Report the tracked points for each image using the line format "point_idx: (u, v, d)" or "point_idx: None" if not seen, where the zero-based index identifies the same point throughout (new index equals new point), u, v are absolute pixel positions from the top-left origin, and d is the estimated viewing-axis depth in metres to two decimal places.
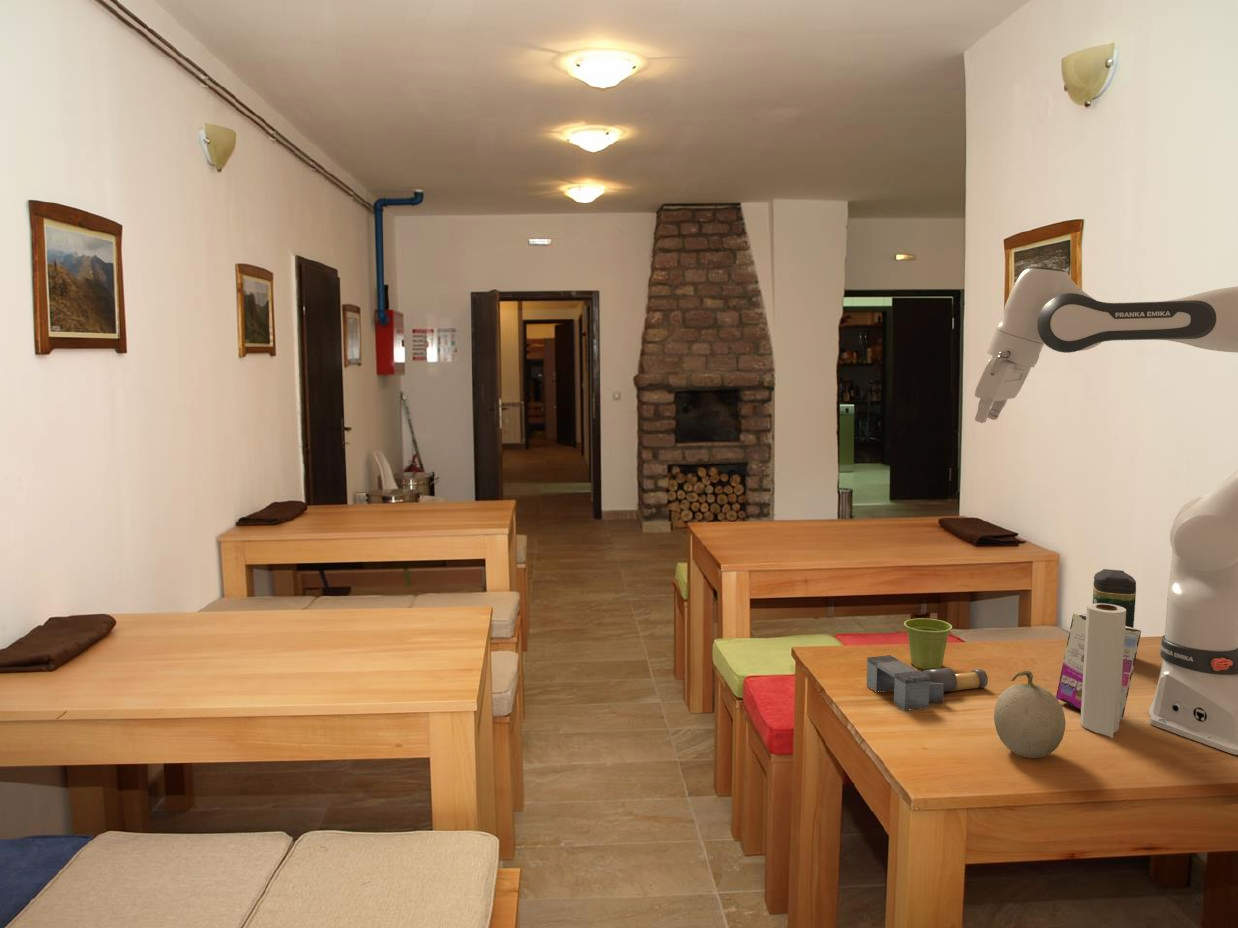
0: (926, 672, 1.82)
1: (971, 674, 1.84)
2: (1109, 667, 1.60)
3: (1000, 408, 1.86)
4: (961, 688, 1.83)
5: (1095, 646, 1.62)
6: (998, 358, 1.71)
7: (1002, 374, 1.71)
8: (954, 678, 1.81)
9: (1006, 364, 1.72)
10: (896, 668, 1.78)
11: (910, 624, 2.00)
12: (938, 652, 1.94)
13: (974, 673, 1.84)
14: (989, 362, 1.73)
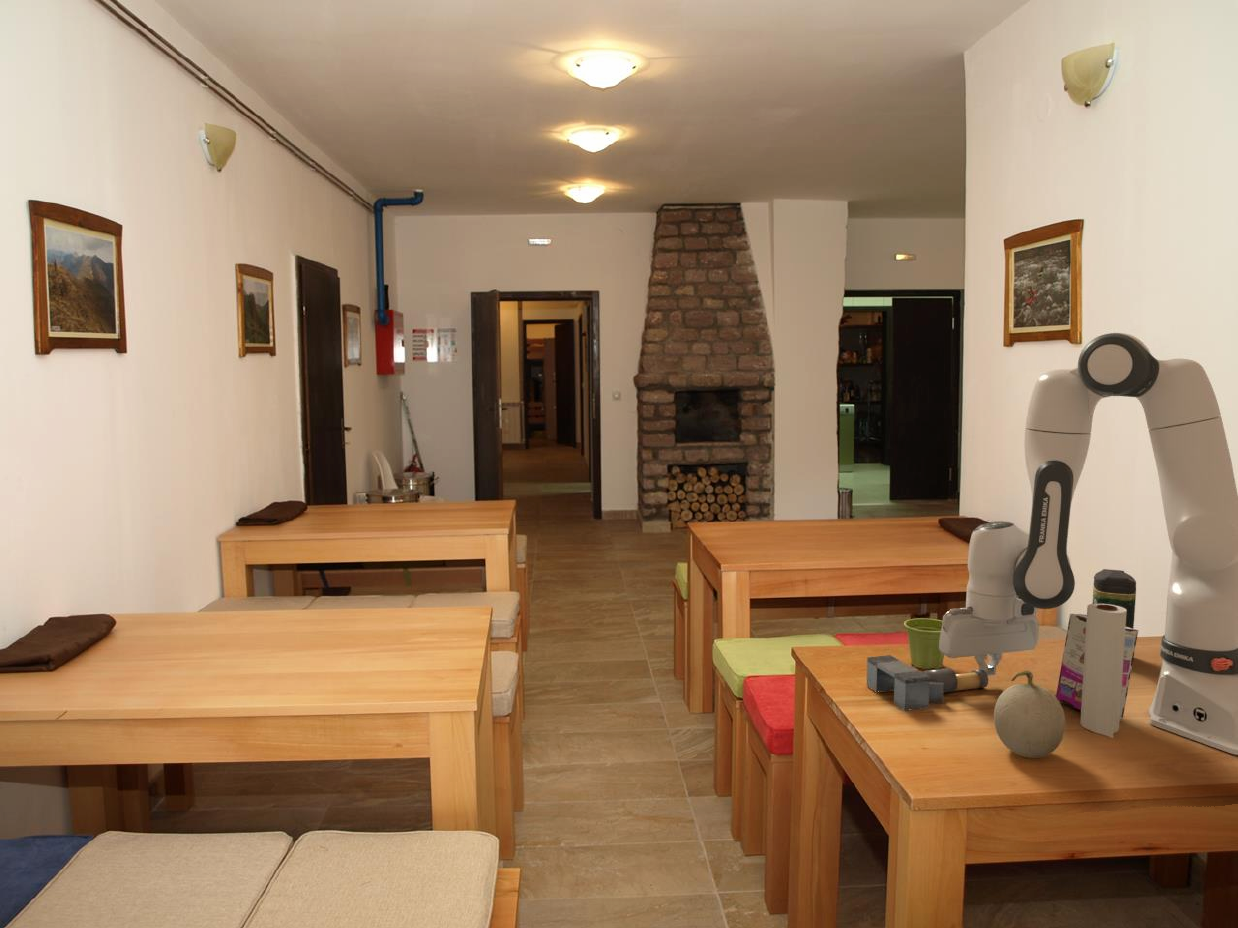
0: (927, 673, 1.81)
1: (972, 675, 1.83)
2: (1110, 667, 1.60)
3: (994, 663, 1.85)
4: (961, 689, 1.83)
5: (1095, 646, 1.62)
6: (944, 616, 1.81)
7: (952, 630, 1.80)
8: (955, 680, 1.81)
9: (956, 620, 1.80)
10: (896, 668, 1.78)
11: (910, 624, 2.00)
12: (938, 652, 1.94)
13: (975, 674, 1.84)
14: None
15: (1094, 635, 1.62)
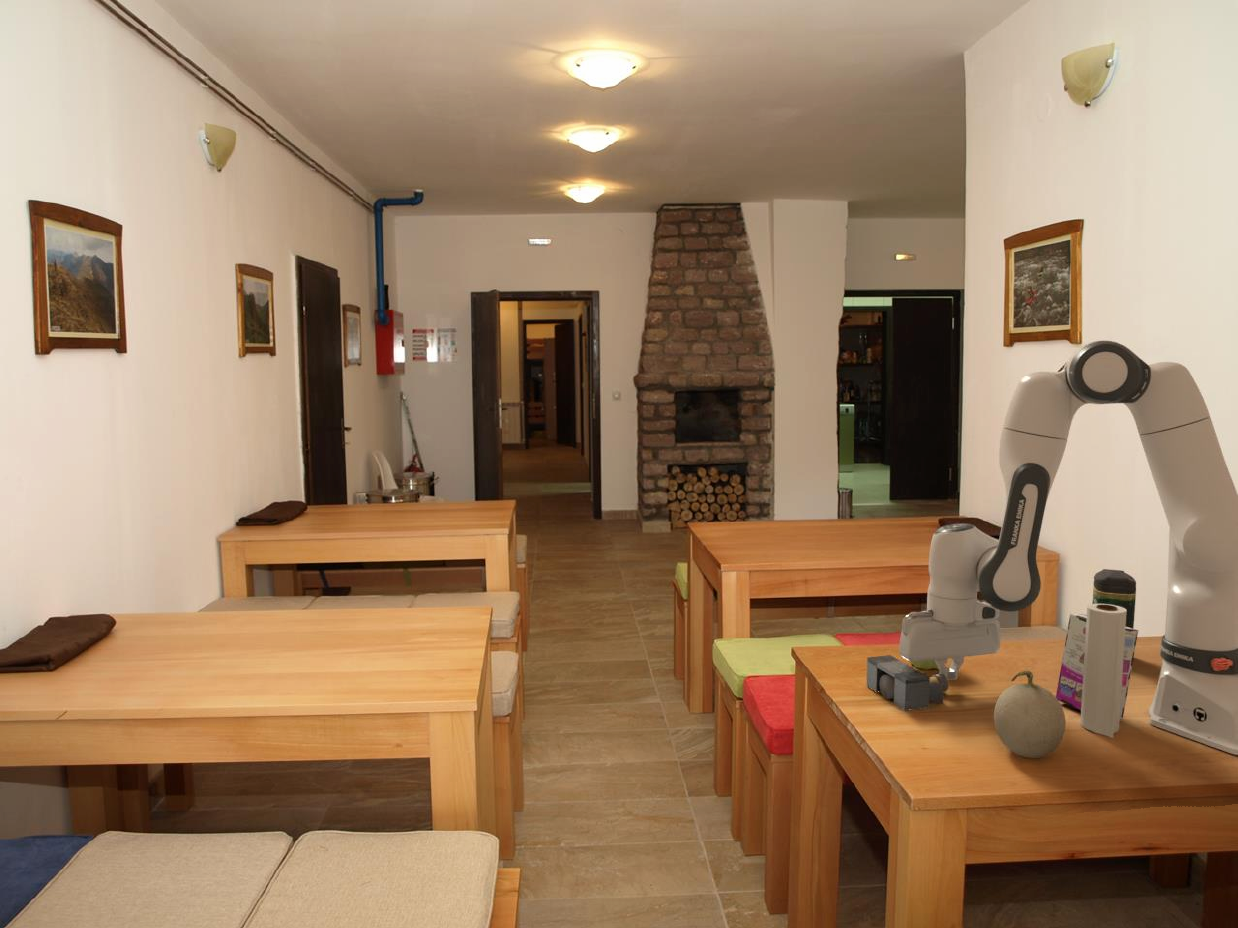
0: (885, 677, 1.79)
1: (931, 679, 1.81)
2: (1110, 667, 1.60)
3: (956, 667, 1.82)
4: None
5: (1095, 646, 1.62)
6: (904, 619, 1.79)
7: (912, 634, 1.78)
8: None
9: (916, 624, 1.78)
10: (896, 668, 1.78)
11: None
12: None
13: (935, 678, 1.81)
14: None
15: (1094, 635, 1.62)
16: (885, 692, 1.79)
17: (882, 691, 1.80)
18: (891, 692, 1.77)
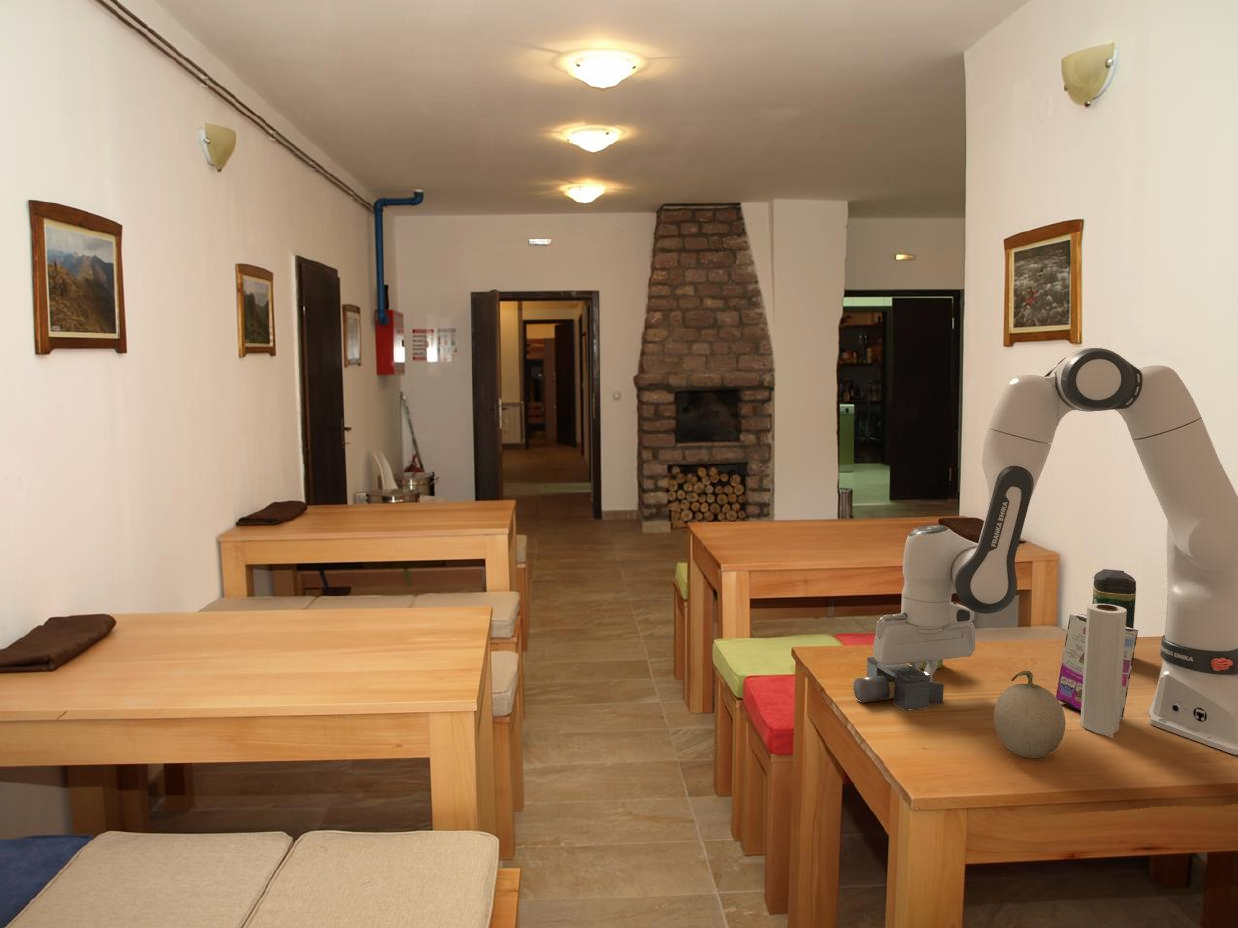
0: (859, 680, 1.77)
1: None
2: (1110, 667, 1.60)
3: (930, 670, 1.81)
4: None
5: (1095, 646, 1.62)
6: (878, 622, 1.77)
7: (885, 637, 1.76)
8: (887, 688, 1.76)
9: (890, 627, 1.76)
10: (896, 668, 1.78)
11: None
12: None
13: None
14: None
15: (1094, 635, 1.62)
16: (858, 695, 1.77)
17: (856, 694, 1.78)
18: (864, 695, 1.75)
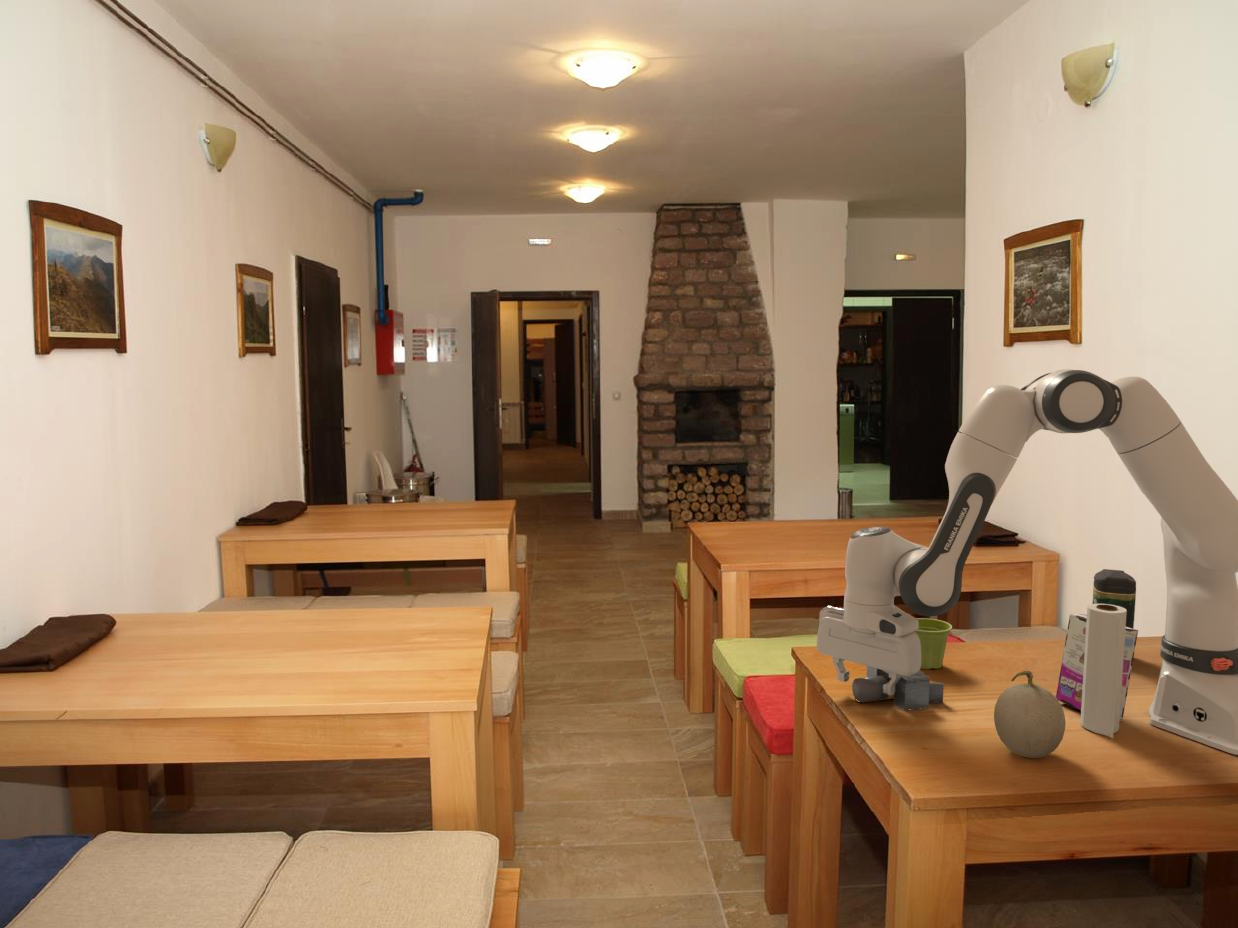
0: (858, 680, 1.77)
1: None
2: (1110, 667, 1.60)
3: None
4: (893, 697, 1.78)
5: (1095, 646, 1.62)
6: (821, 610, 1.84)
7: (819, 625, 1.82)
8: None
9: (825, 617, 1.82)
10: None
11: None
12: (938, 652, 1.94)
13: None
14: None
15: (1094, 635, 1.62)
16: (857, 695, 1.77)
17: (854, 695, 1.78)
18: (863, 696, 1.75)
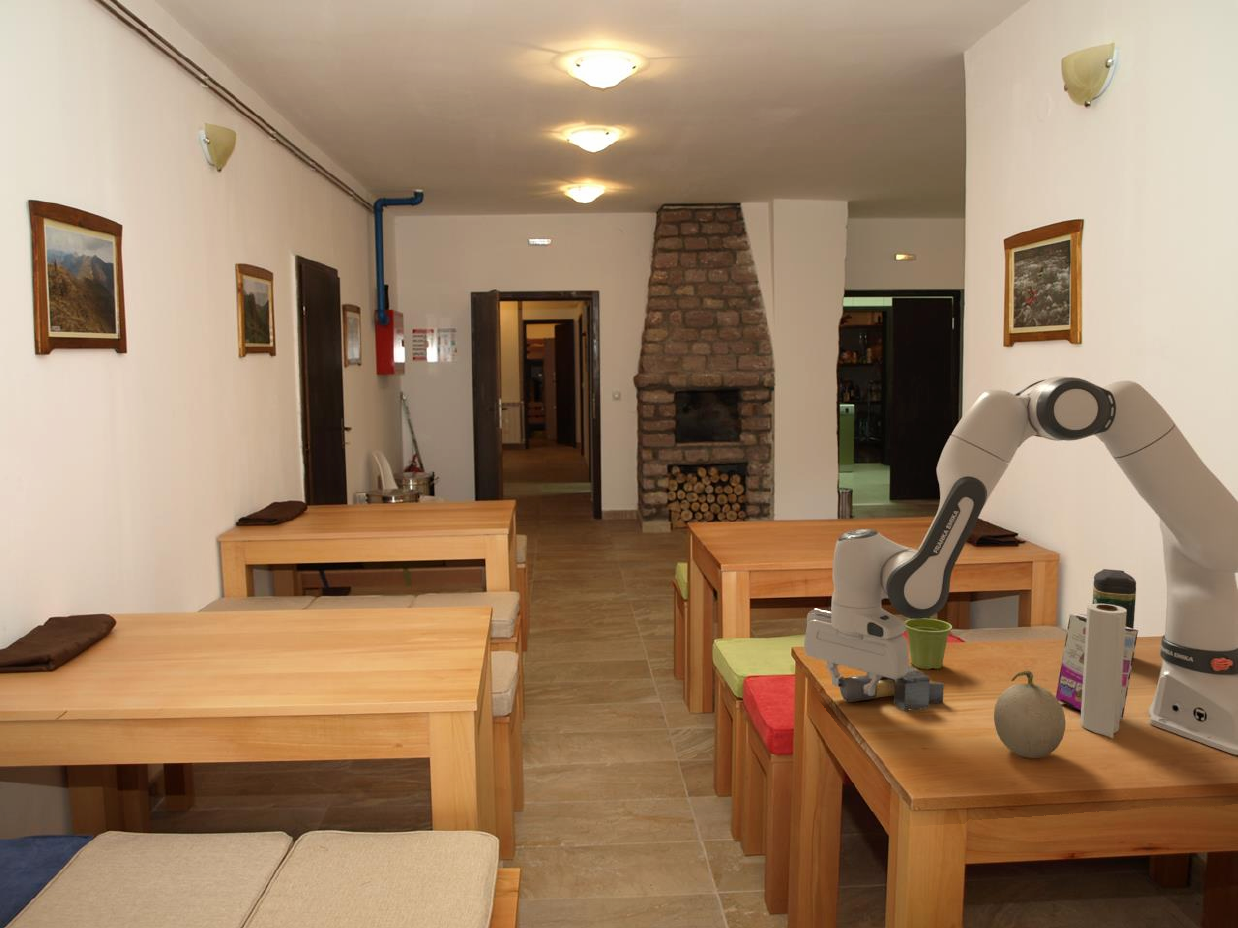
0: (846, 680, 1.77)
1: (891, 681, 1.80)
2: (1110, 667, 1.60)
3: (869, 683, 1.74)
4: (880, 696, 1.79)
5: (1095, 646, 1.62)
6: (808, 613, 1.83)
7: None
8: None
9: (812, 620, 1.81)
10: None
11: (910, 624, 2.00)
12: (938, 652, 1.94)
13: (894, 680, 1.80)
14: None
15: (1094, 635, 1.62)
16: (845, 695, 1.77)
17: (843, 694, 1.78)
18: (852, 695, 1.75)
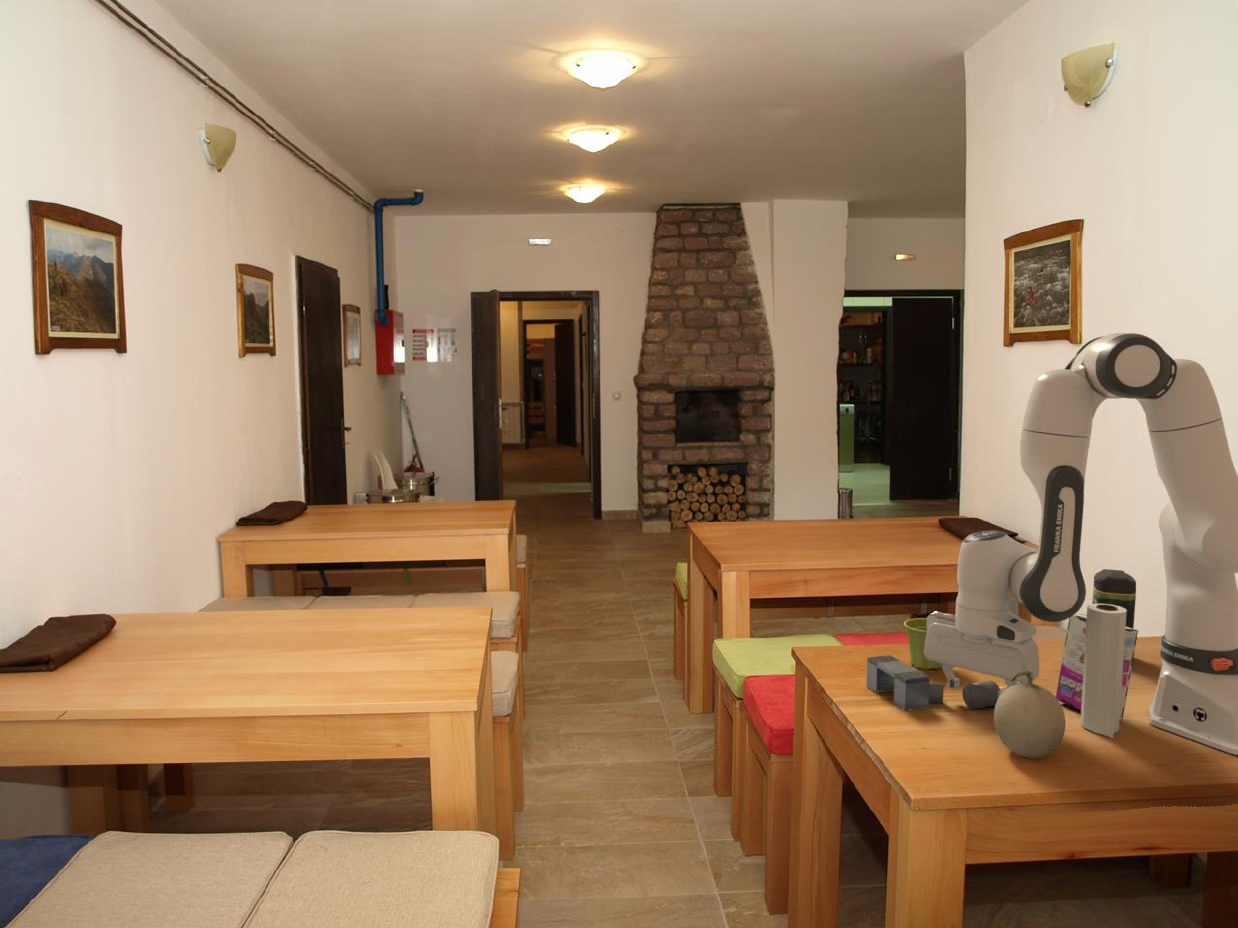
0: (970, 686, 1.74)
1: None
2: (1110, 667, 1.60)
3: None
4: None
5: (1095, 646, 1.62)
6: (928, 616, 1.80)
7: (927, 631, 1.79)
8: None
9: (933, 623, 1.78)
10: (896, 668, 1.78)
11: (910, 624, 2.00)
12: None
13: None
14: None
15: (1094, 635, 1.62)
16: (969, 701, 1.74)
17: (966, 701, 1.75)
18: (977, 701, 1.72)
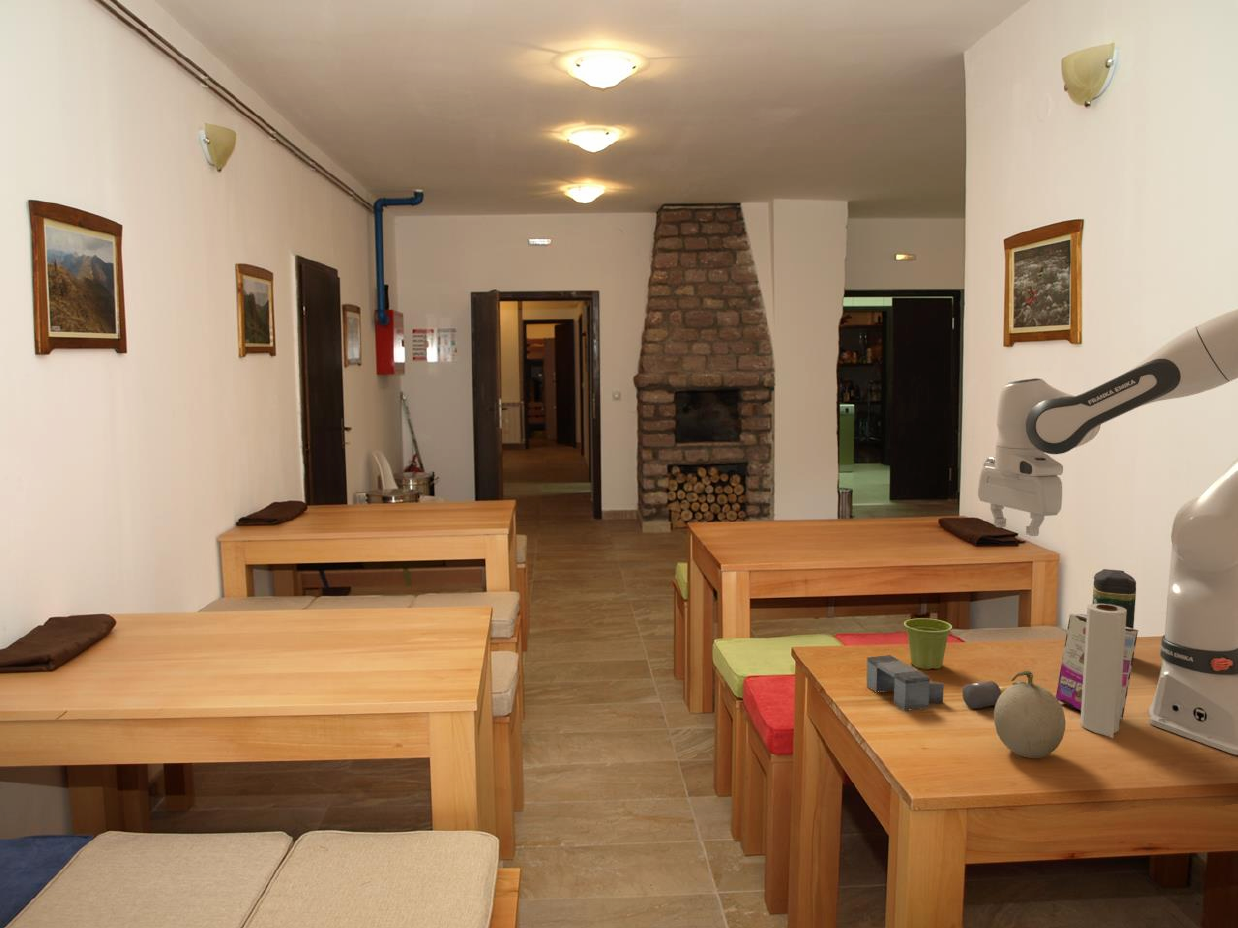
0: (970, 686, 1.74)
1: None
2: (1110, 667, 1.60)
3: None
4: None
5: (1096, 646, 1.62)
6: (985, 462, 1.98)
7: (980, 475, 1.97)
8: (999, 693, 1.74)
9: (985, 466, 1.96)
10: (896, 668, 1.78)
11: (910, 624, 2.00)
12: (938, 652, 1.94)
13: None
14: None
15: (1094, 635, 1.62)
16: (969, 701, 1.74)
17: (966, 701, 1.75)
18: (977, 702, 1.72)
